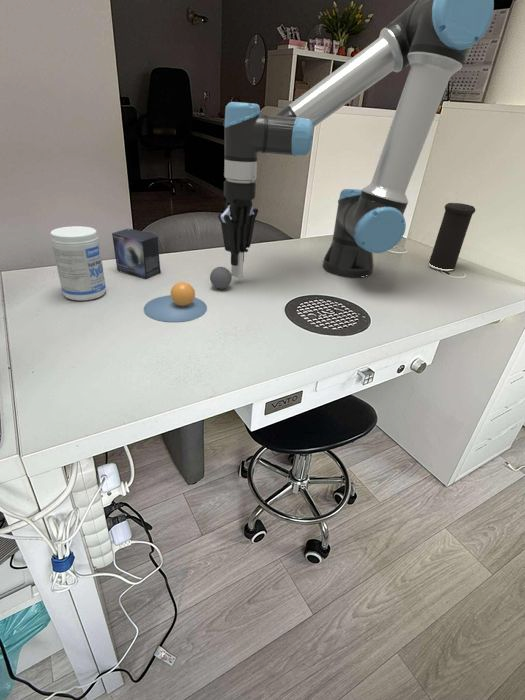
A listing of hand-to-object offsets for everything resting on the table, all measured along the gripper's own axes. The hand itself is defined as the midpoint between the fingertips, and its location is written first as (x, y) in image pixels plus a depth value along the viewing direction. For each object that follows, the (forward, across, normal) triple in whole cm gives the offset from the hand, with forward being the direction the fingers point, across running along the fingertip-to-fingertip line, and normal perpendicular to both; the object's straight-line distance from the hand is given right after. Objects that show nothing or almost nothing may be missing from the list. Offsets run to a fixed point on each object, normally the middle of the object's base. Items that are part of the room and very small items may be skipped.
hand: (236, 275), depth 103 cm
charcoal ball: (-1, +6, -1) cm, 6 cm away
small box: (+2, +13, -24) cm, 27 cm away
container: (+2, -58, +39) cm, 70 cm away
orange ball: (-1, +20, 0) cm, 20 cm away
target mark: (+2, +22, 0) cm, 22 cm away
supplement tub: (+2, +31, -21) cm, 38 cm away
